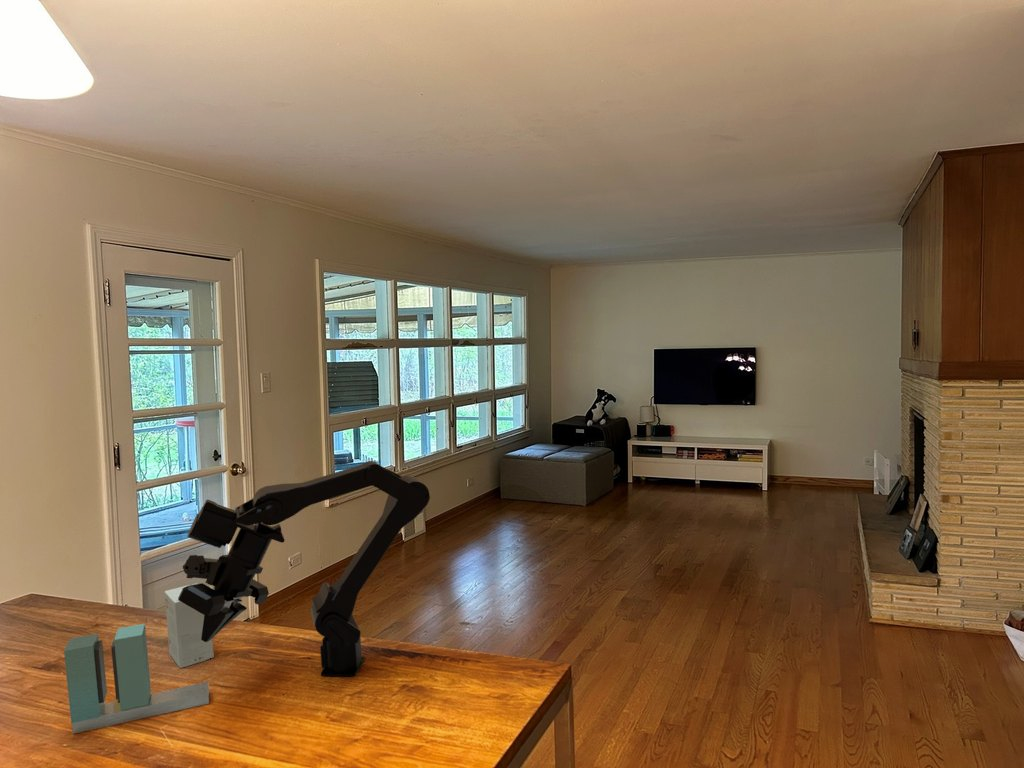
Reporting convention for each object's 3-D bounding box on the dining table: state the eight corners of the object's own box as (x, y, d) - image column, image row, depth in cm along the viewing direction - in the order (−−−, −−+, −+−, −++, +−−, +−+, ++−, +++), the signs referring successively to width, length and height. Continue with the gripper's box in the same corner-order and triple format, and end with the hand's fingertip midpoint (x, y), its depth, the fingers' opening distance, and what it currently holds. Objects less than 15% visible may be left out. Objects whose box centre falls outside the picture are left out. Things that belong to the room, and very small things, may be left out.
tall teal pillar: (151, 690, 120) (144, 623, 119) (148, 704, 116) (142, 634, 114) (120, 697, 118) (114, 629, 117) (116, 711, 114) (109, 640, 113)
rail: (209, 691, 124) (203, 614, 122) (208, 704, 119) (202, 625, 118) (78, 719, 116) (70, 638, 115) (72, 735, 112) (64, 650, 110)
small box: (214, 658, 136) (209, 593, 135) (179, 669, 132) (174, 602, 131) (202, 644, 142) (197, 582, 141) (168, 654, 138) (163, 590, 137)
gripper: (237, 535, 133) (200, 612, 131) (175, 537, 115) (130, 627, 113) (285, 560, 130) (248, 640, 129) (229, 567, 112) (185, 659, 111)
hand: (204, 640), depth 120 cm, fingers closed
